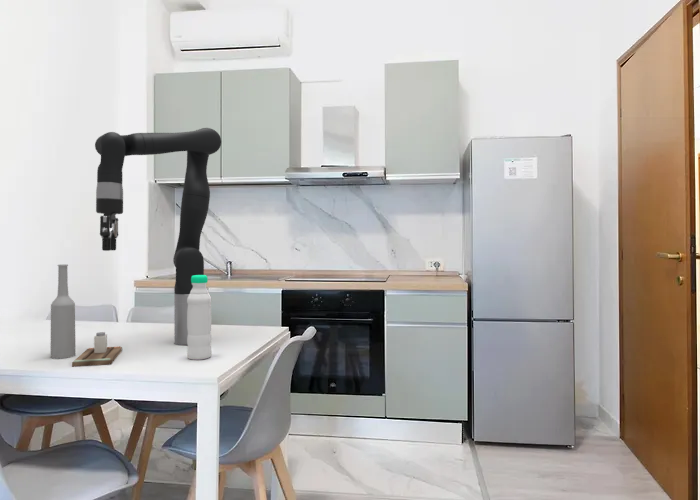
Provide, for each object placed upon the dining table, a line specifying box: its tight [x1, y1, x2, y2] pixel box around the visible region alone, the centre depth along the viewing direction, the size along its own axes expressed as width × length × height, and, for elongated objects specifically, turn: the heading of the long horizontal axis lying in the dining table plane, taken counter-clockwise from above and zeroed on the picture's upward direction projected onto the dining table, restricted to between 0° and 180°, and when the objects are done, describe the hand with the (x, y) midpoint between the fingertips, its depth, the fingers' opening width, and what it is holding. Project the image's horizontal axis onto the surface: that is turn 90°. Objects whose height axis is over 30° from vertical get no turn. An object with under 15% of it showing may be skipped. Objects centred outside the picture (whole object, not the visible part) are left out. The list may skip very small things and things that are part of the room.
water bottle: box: [186, 274, 212, 361], centre depth 147 cm, size 7×7×25 cm
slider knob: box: [93, 331, 108, 353], centre depth 148 cm, size 3×3×6 cm
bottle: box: [50, 264, 76, 360], centre depth 148 cm, size 7×7×28 cm
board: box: [71, 345, 123, 368], centre depth 145 cm, size 10×18×2 cm, turn 16°
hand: (109, 250), depth 150 cm, fingers open, 8 cm apart
